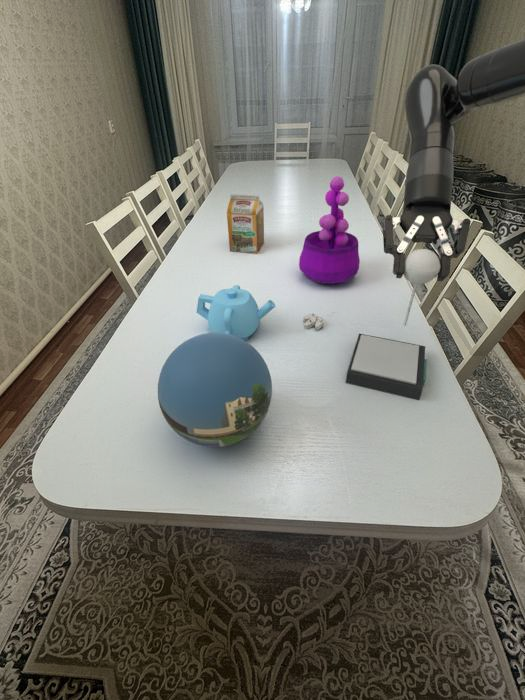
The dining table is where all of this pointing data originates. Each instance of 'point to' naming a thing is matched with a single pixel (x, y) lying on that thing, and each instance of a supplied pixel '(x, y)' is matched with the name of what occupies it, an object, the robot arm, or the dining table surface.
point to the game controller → (313, 321)
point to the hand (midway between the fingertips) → (420, 278)
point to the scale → (388, 366)
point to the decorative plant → (331, 243)
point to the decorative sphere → (214, 389)
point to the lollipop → (420, 270)
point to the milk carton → (245, 223)
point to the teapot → (233, 312)
